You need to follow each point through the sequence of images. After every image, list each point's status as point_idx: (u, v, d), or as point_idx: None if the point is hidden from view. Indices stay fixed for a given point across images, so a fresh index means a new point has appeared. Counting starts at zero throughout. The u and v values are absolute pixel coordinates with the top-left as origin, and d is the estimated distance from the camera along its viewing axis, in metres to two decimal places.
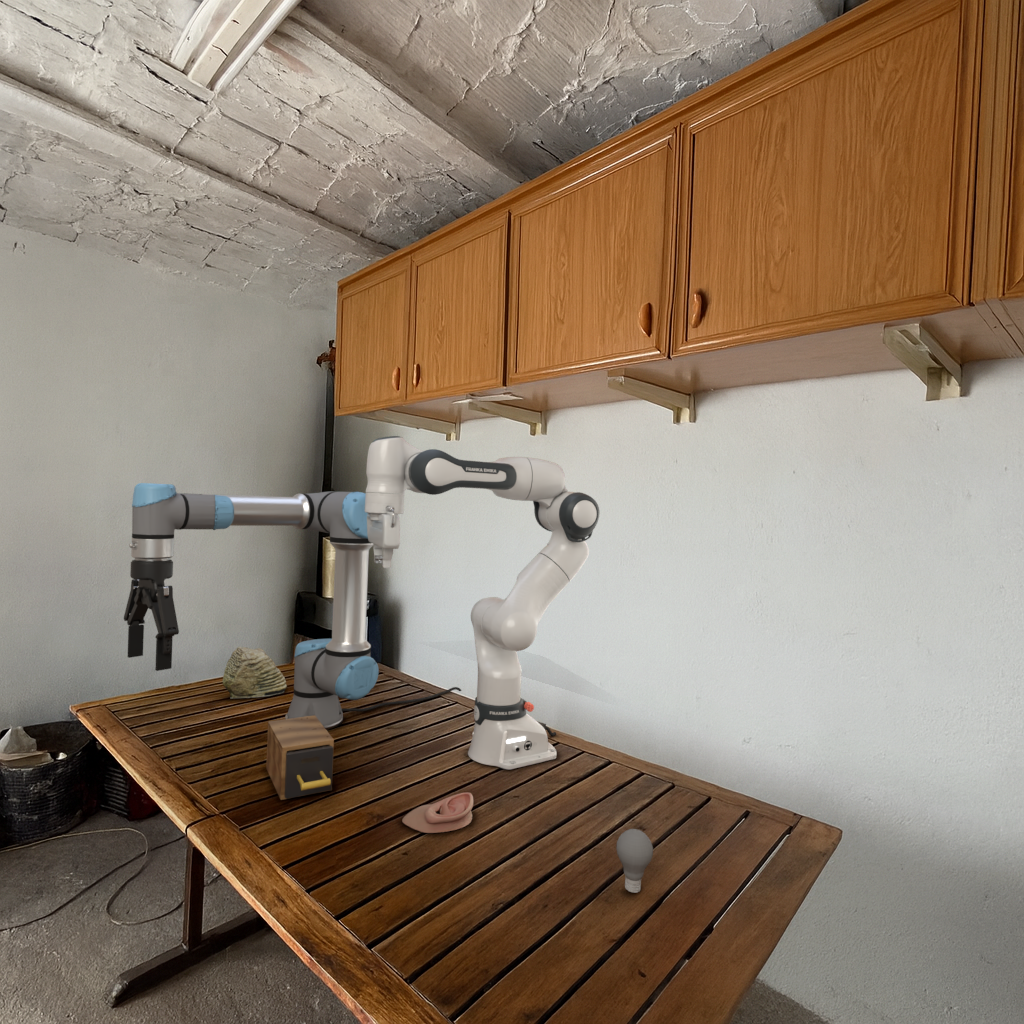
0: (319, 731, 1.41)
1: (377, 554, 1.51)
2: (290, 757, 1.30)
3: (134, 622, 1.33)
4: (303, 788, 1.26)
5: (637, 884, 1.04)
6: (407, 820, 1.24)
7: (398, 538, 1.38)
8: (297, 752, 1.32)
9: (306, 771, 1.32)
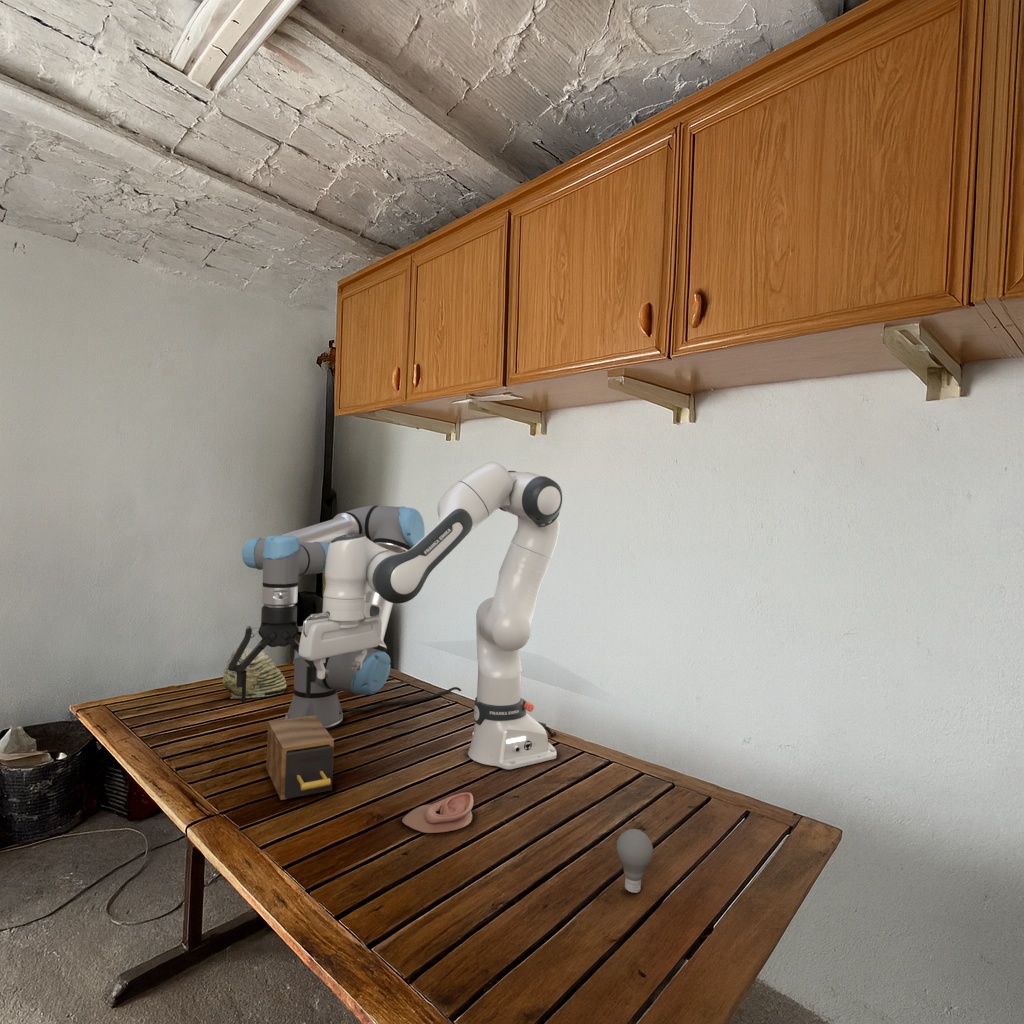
0: (319, 731, 1.41)
1: (357, 660, 1.40)
2: (290, 757, 1.30)
3: None
4: (303, 788, 1.26)
5: (637, 884, 1.04)
6: (407, 820, 1.24)
7: (308, 649, 1.27)
8: (297, 752, 1.32)
9: (306, 771, 1.32)
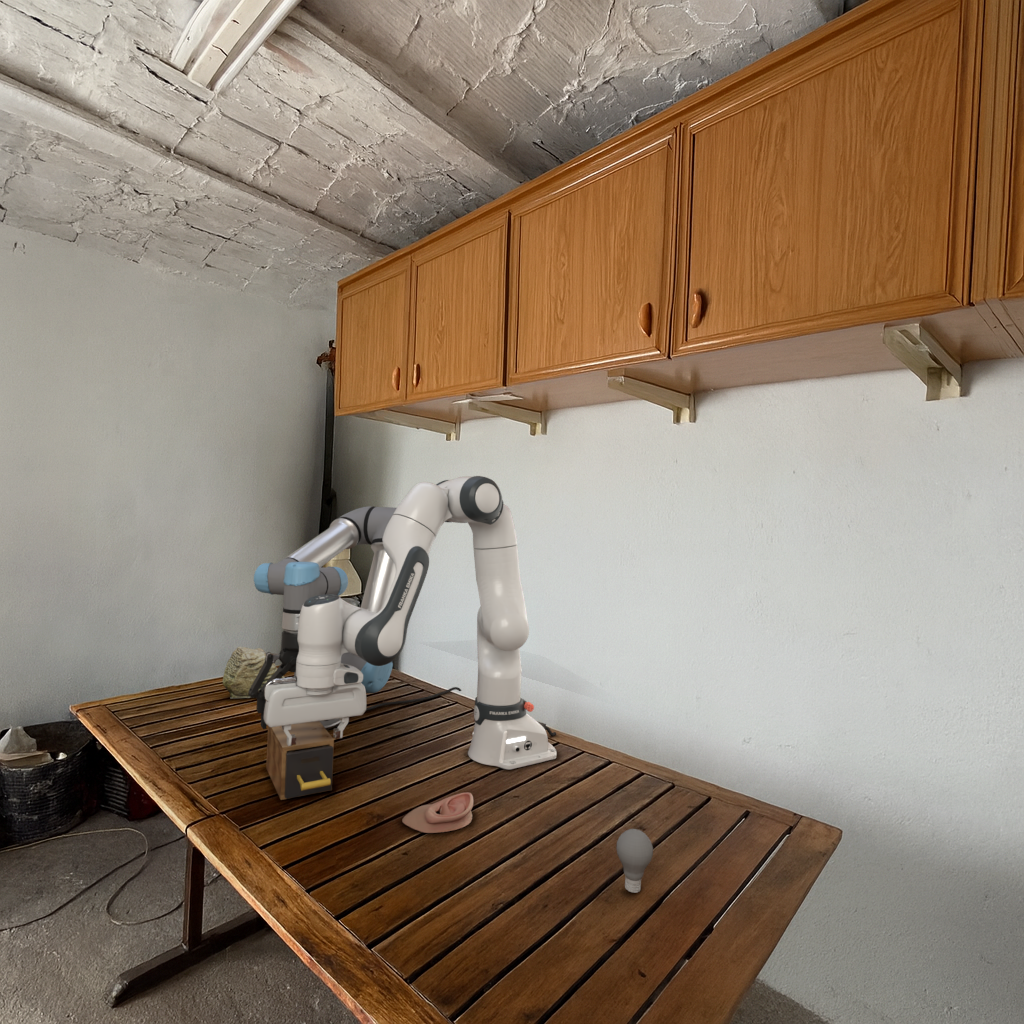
0: (319, 731, 1.41)
1: (338, 727, 1.33)
2: (290, 757, 1.30)
3: None
4: (303, 788, 1.26)
5: (637, 884, 1.04)
6: (407, 820, 1.24)
7: (266, 716, 1.24)
8: (297, 752, 1.32)
9: (306, 771, 1.32)
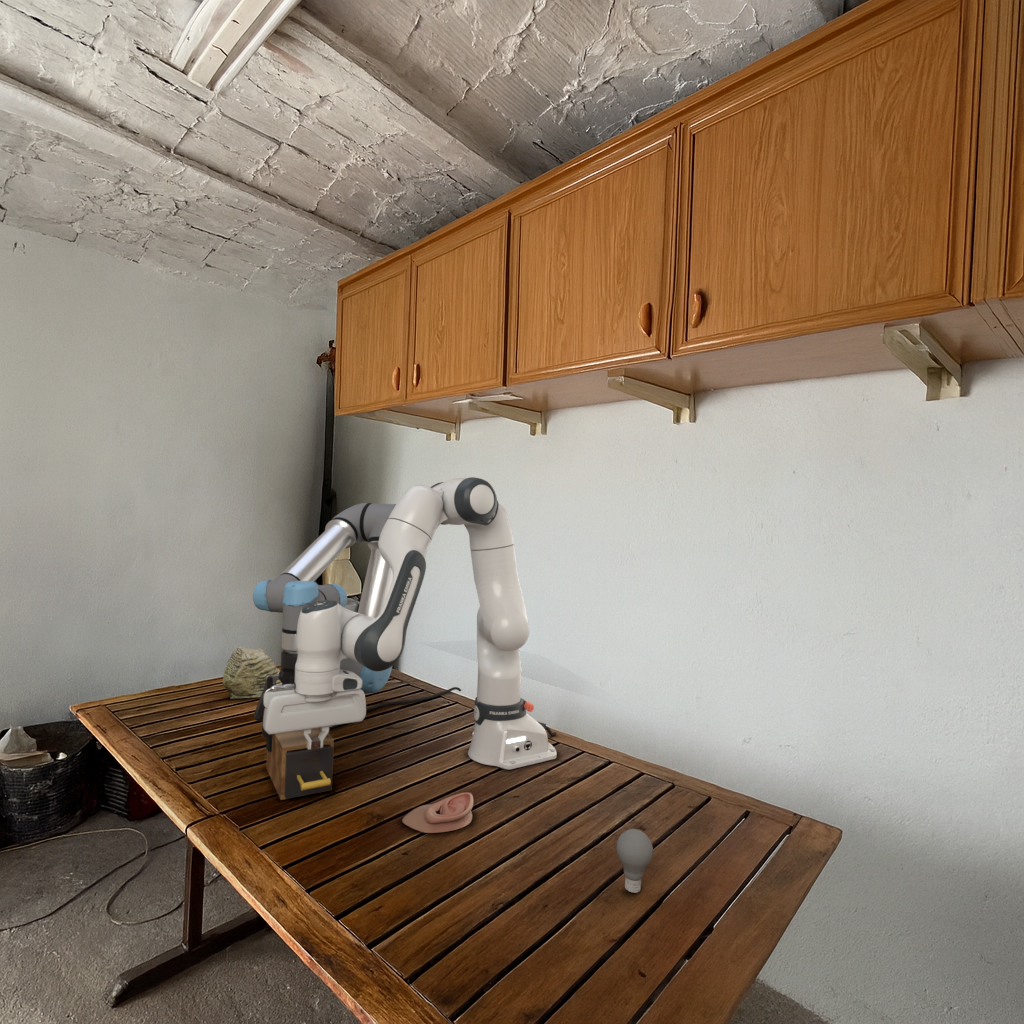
0: (319, 731, 1.41)
1: (319, 736, 1.30)
2: (290, 757, 1.30)
3: None
4: (303, 788, 1.26)
5: (637, 884, 1.04)
6: (407, 820, 1.24)
7: (265, 723, 1.23)
8: (297, 752, 1.32)
9: (306, 771, 1.32)
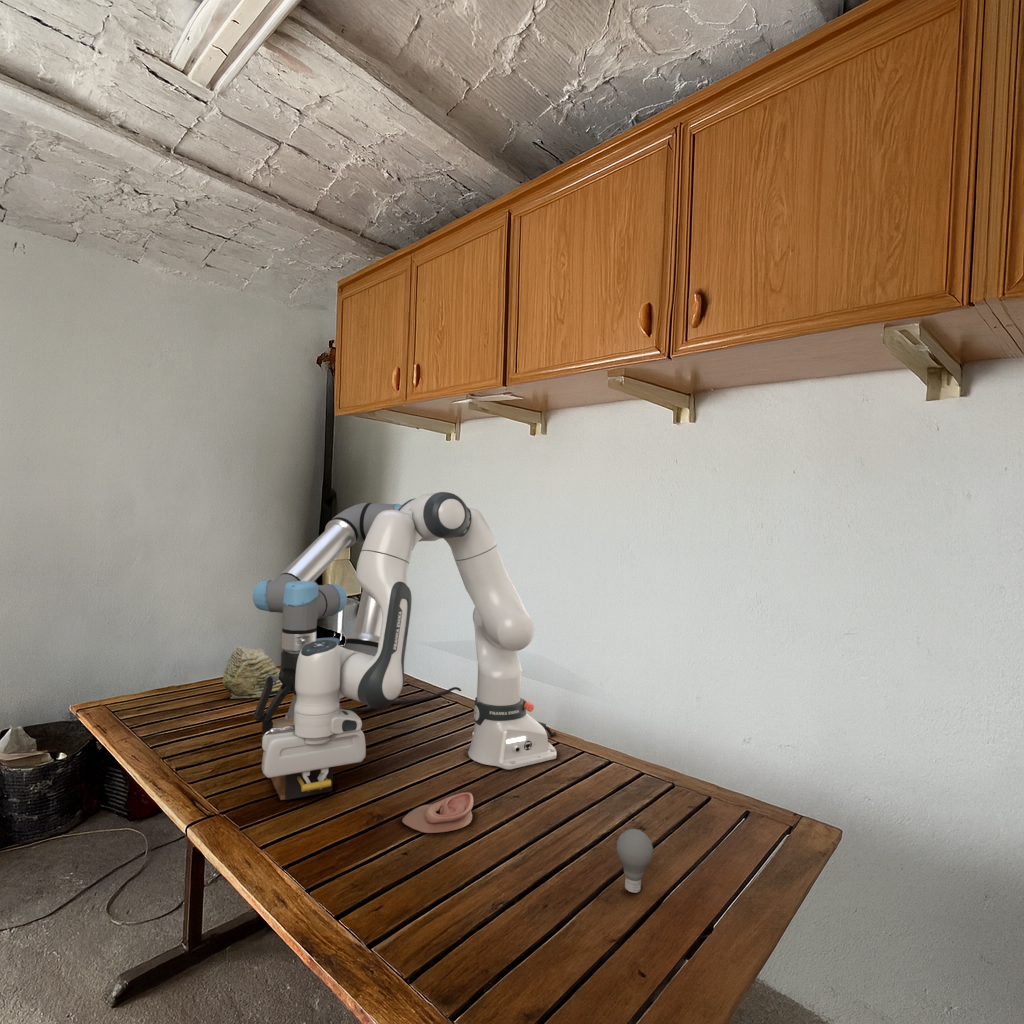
0: None
1: (318, 778, 1.30)
2: None
3: None
4: (304, 789, 1.26)
5: (637, 884, 1.04)
6: (407, 820, 1.24)
7: (264, 766, 1.23)
8: None
9: None
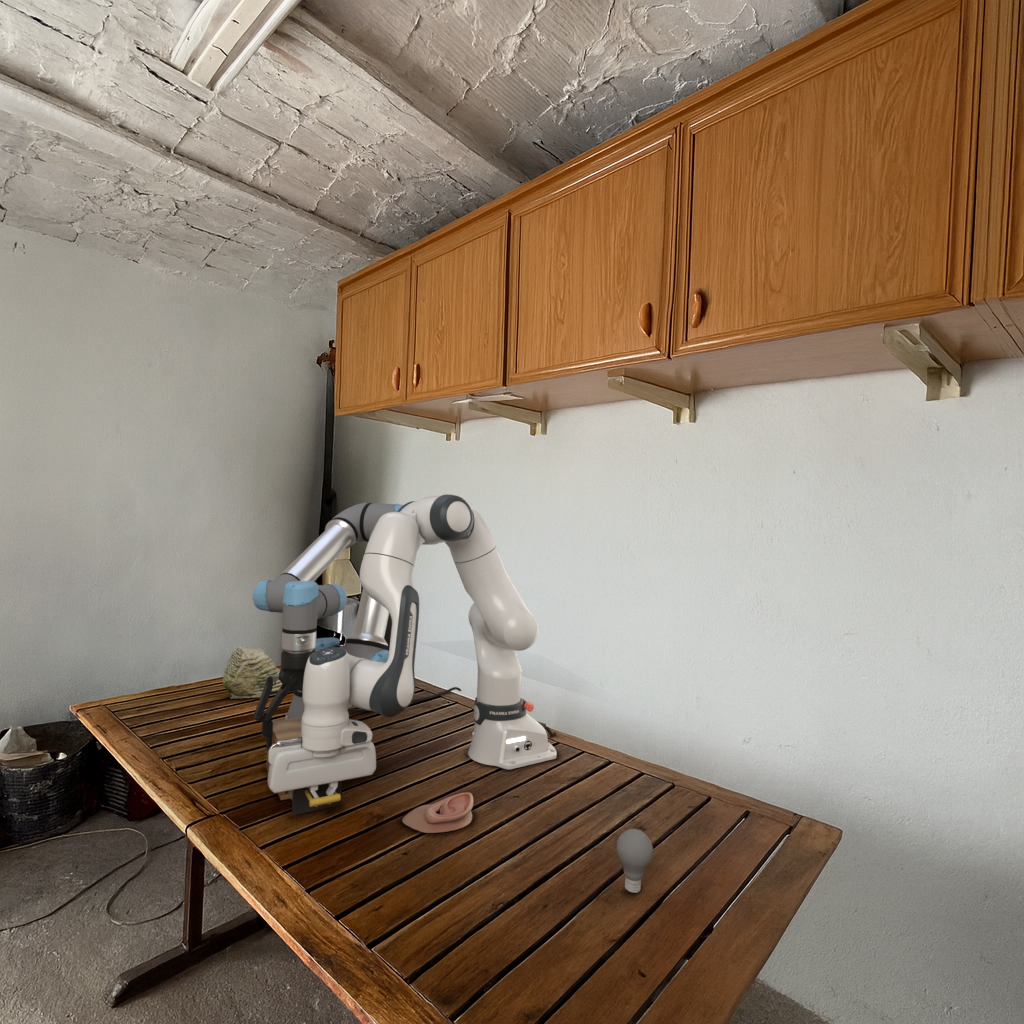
0: None
1: (327, 792, 1.24)
2: None
3: None
4: (312, 804, 1.20)
5: (637, 884, 1.04)
6: (407, 820, 1.24)
7: (270, 781, 1.17)
8: None
9: None
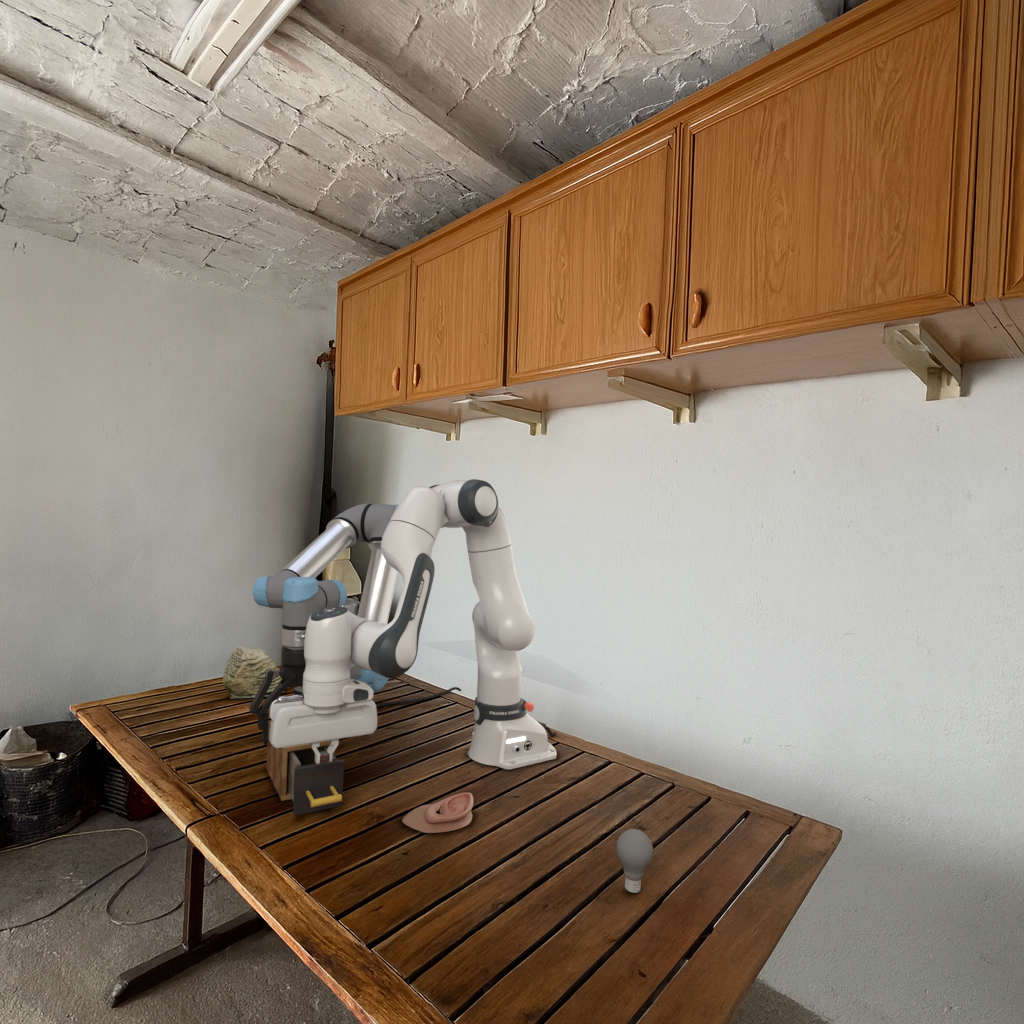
0: None
1: (328, 750, 1.24)
2: (299, 772, 1.24)
3: None
4: (313, 805, 1.20)
5: (637, 884, 1.04)
6: (407, 820, 1.24)
7: (272, 736, 1.17)
8: (306, 766, 1.25)
9: (316, 786, 1.26)
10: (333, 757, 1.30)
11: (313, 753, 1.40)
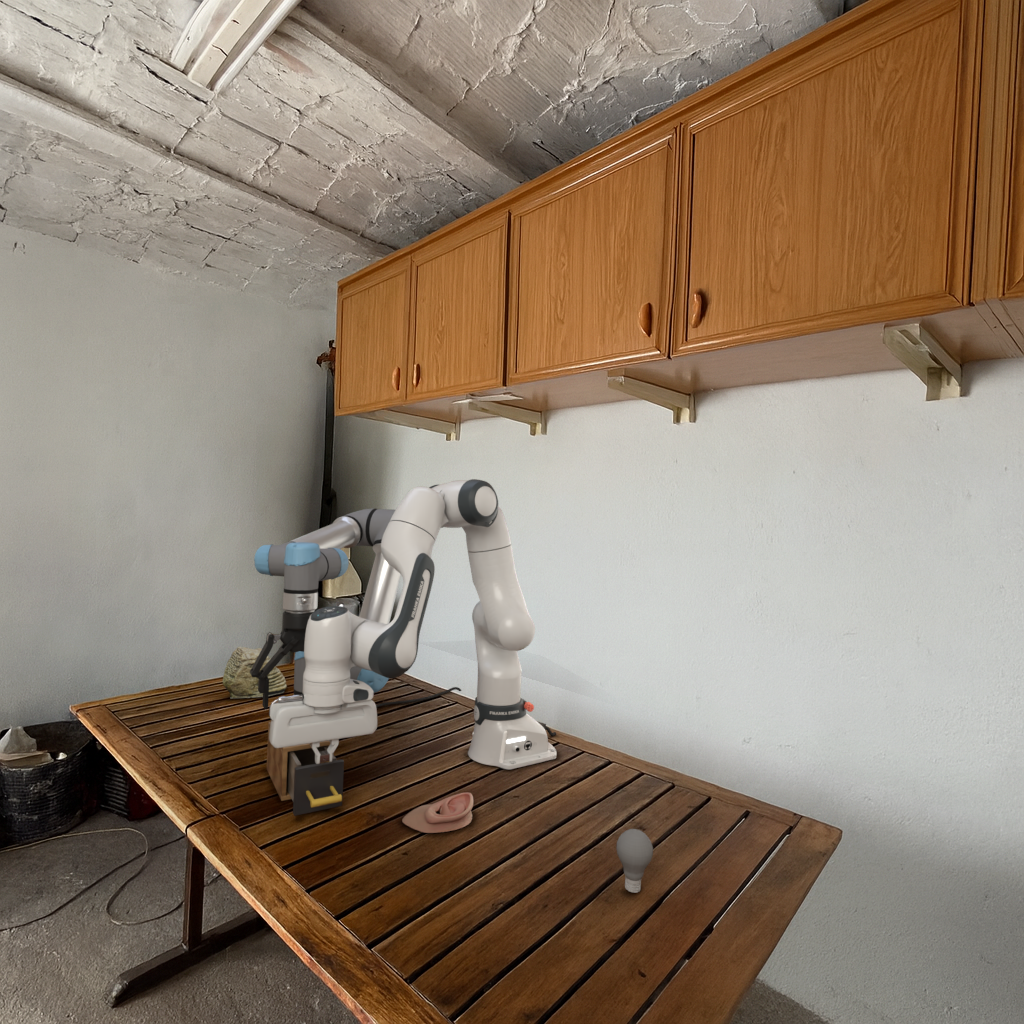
0: None
1: (328, 750, 1.24)
2: (299, 772, 1.24)
3: None
4: (313, 805, 1.20)
5: (637, 884, 1.04)
6: (407, 820, 1.24)
7: (272, 736, 1.17)
8: (306, 766, 1.25)
9: (316, 786, 1.26)
10: (333, 757, 1.30)
11: (313, 753, 1.40)
